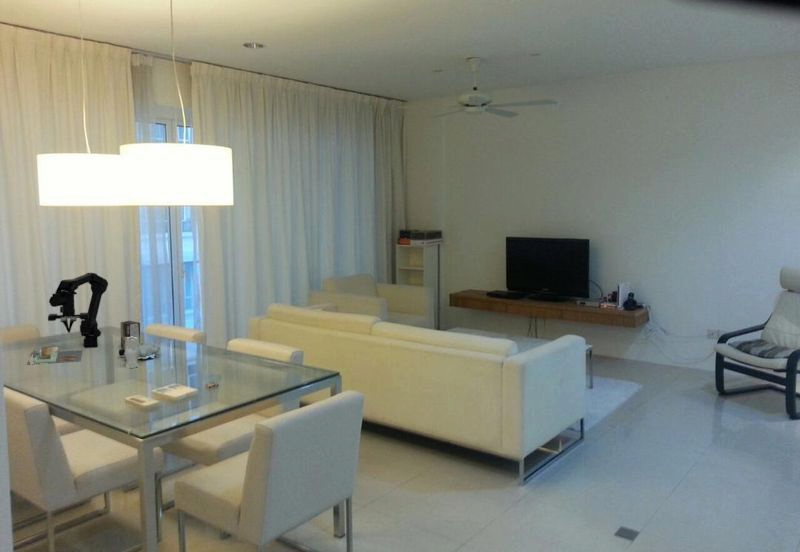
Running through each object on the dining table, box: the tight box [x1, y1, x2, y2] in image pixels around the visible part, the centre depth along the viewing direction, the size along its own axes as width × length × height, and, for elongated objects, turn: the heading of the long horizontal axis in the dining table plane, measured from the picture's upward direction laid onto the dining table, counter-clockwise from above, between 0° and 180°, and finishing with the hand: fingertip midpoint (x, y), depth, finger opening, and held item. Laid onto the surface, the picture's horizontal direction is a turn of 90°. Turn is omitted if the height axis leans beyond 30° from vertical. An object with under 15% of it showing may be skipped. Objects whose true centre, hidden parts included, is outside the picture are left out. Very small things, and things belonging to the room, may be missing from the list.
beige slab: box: [40, 346, 60, 356], centre depth 324 cm, size 8×8×3 cm
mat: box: [26, 349, 84, 366], centre depth 321 cm, size 24×24×1 cm
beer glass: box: [125, 337, 140, 365], centre depth 310 cm, size 7×7×15 cm
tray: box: [34, 354, 58, 365], centre depth 313 cm, size 10×10×2 cm
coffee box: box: [120, 320, 141, 350], centre depth 340 cm, size 9×6×16 cm
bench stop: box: [32, 346, 42, 358], centre depth 322 cm, size 3×9×4 cm, turn 25°
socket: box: [60, 355, 76, 362], centre depth 318 cm, size 7×7×1 cm
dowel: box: [41, 346, 51, 359], centre depth 313 cm, size 4×4×6 cm
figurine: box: [118, 342, 161, 359], centre depth 327 cm, size 17×8×20 cm
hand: (68, 332), depth 327 cm, fingers closed
